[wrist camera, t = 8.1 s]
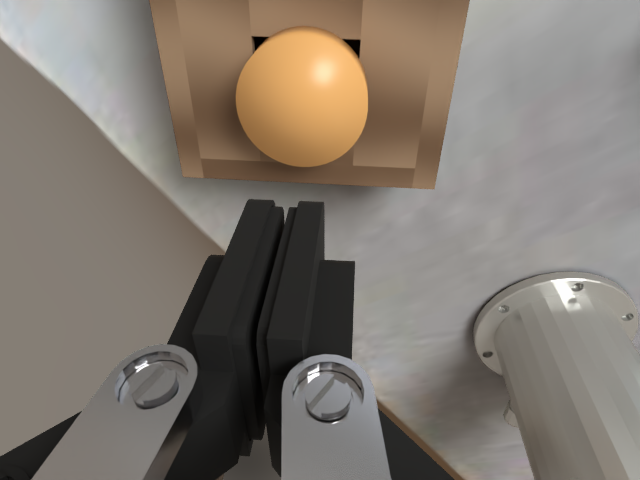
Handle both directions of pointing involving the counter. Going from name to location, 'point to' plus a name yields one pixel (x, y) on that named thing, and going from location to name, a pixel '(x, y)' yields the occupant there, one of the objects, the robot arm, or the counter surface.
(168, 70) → the wooden peg board
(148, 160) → the counter surface
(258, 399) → the robot arm
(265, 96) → the orange button
